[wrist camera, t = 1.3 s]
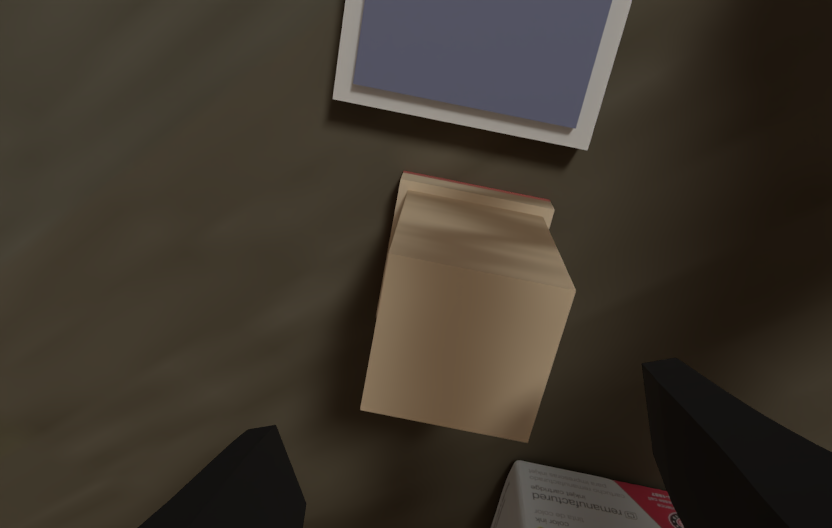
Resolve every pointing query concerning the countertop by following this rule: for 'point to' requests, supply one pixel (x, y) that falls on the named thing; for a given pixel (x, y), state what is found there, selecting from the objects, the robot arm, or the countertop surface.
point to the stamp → (467, 309)
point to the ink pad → (484, 62)
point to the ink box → (578, 501)
